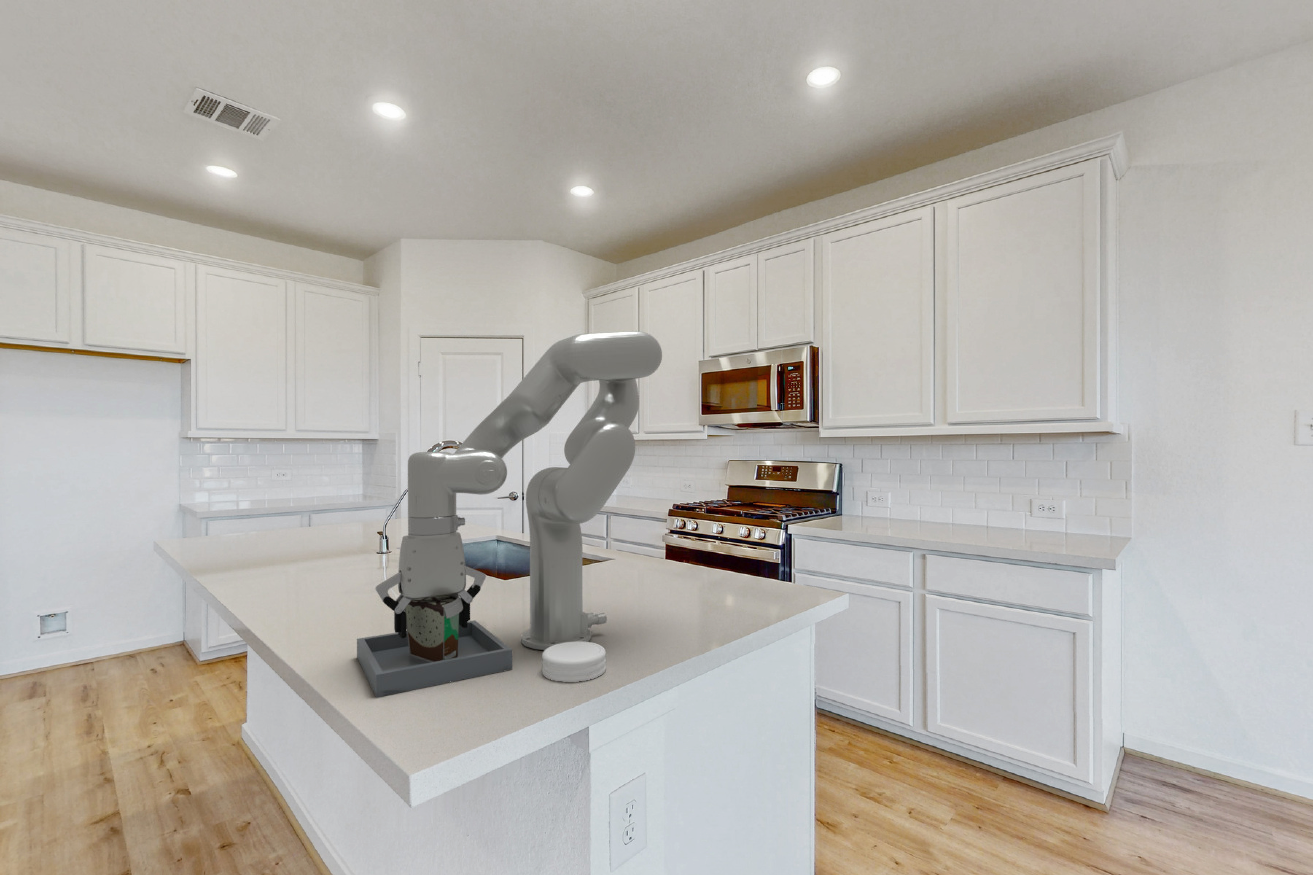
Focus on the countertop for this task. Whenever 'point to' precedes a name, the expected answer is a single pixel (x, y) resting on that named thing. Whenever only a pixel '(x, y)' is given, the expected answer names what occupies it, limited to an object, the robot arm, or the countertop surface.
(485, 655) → the tray
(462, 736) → the countertop surface
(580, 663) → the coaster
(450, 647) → the food container
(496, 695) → the countertop surface
